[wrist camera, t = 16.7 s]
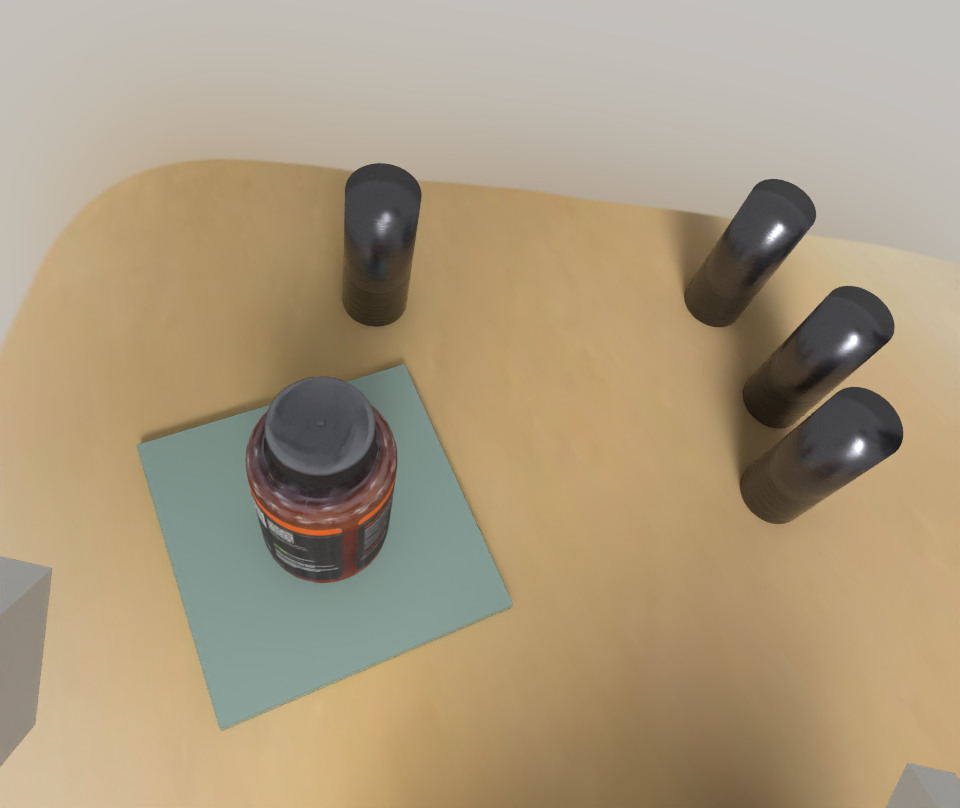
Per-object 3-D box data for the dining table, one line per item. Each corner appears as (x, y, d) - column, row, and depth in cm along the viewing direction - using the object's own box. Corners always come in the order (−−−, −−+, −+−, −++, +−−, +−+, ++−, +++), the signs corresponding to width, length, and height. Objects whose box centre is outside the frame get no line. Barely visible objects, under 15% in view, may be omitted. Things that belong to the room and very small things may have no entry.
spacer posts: (670, 195, 54) (728, 87, 46) (863, 489, 46) (974, 419, 38) (334, 283, 46) (334, 172, 38) (494, 652, 38) (536, 608, 30)
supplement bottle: (390, 471, 41) (409, 358, 31) (384, 589, 38) (403, 505, 28) (269, 465, 40) (248, 345, 30) (254, 584, 37) (225, 496, 27)
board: (403, 371, 44) (404, 364, 44) (509, 608, 39) (513, 604, 39) (140, 451, 40) (136, 444, 39) (222, 730, 35) (219, 728, 34)
